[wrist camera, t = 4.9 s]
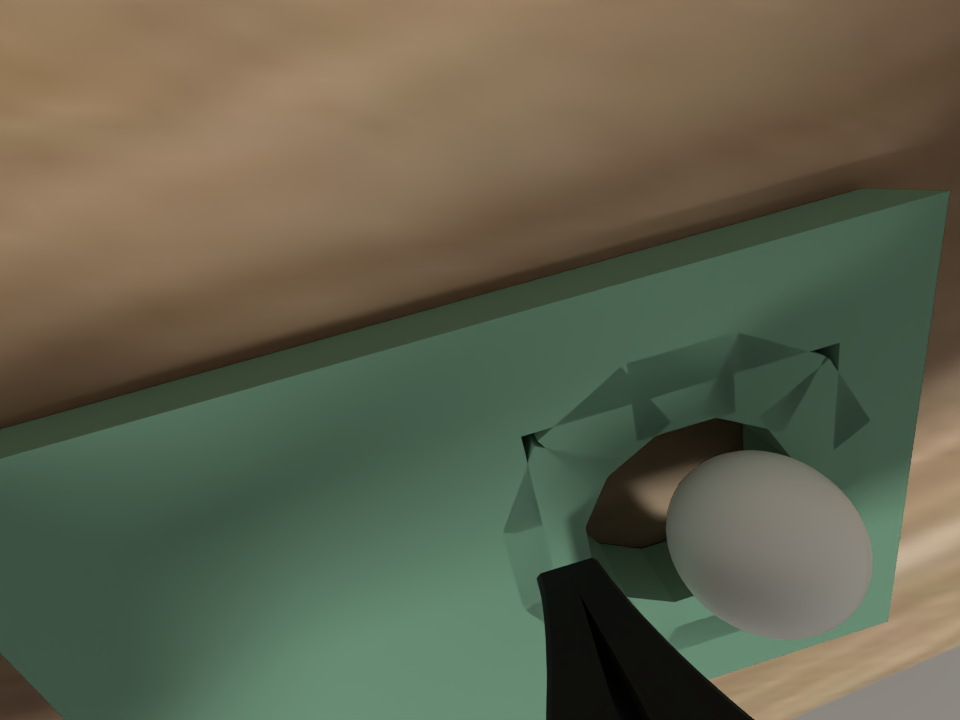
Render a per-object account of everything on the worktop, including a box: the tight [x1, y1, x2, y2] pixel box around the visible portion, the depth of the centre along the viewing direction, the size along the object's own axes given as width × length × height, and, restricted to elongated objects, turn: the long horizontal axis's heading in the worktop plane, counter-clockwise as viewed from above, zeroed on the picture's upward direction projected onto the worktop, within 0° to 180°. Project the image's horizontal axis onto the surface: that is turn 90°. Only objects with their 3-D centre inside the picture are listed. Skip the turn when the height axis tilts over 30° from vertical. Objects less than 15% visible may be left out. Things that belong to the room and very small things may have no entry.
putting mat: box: [0, 188, 950, 720], centre depth 13 cm, size 22×13×2 cm, turn 104°
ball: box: [666, 450, 872, 640], centre depth 11 cm, size 4×4×4 cm
